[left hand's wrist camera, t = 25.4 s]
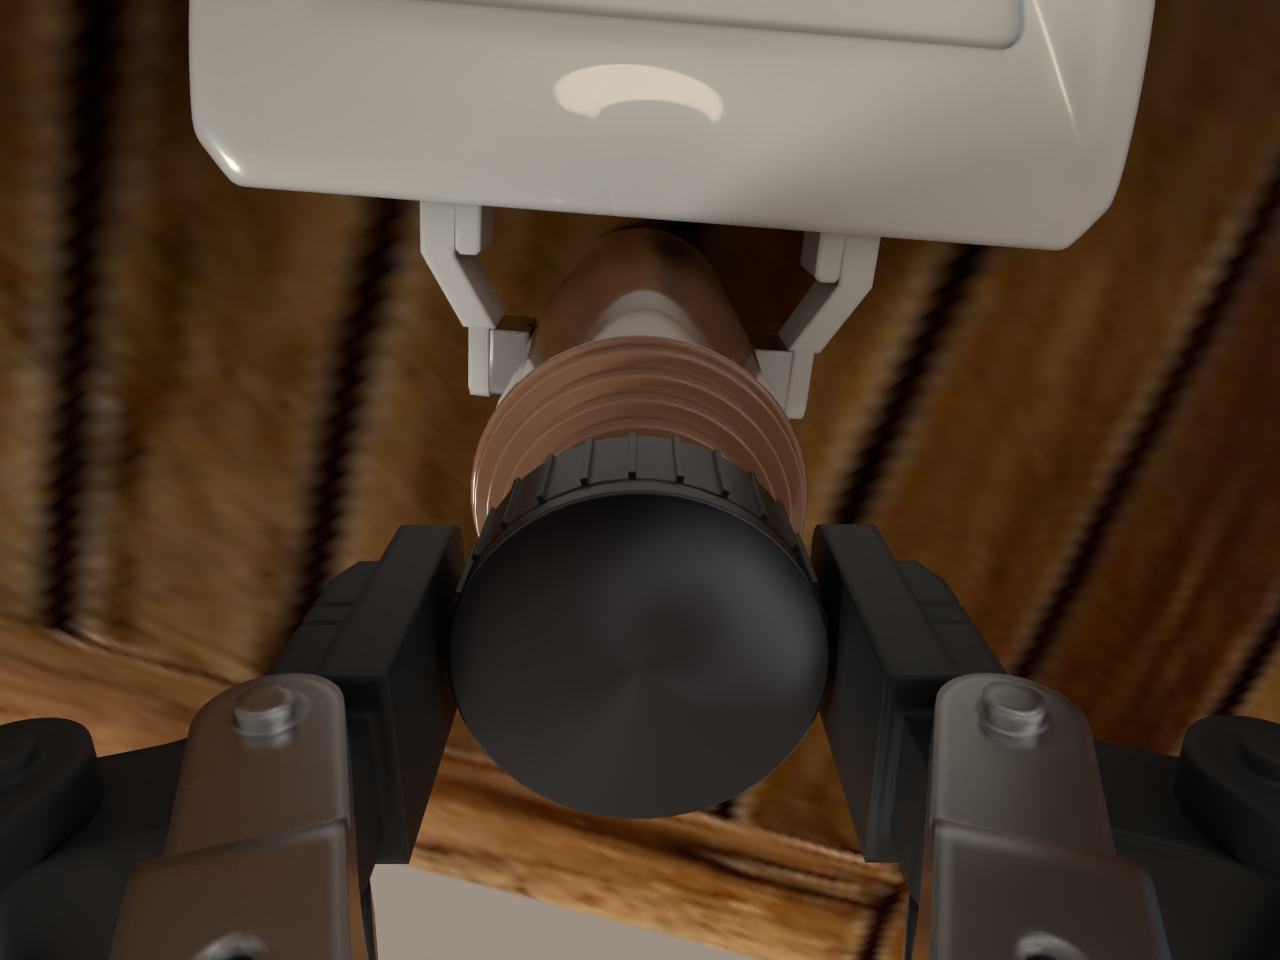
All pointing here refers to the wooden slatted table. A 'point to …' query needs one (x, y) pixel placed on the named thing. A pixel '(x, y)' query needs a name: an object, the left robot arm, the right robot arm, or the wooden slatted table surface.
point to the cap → (638, 630)
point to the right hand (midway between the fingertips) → (638, 401)
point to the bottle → (639, 372)
